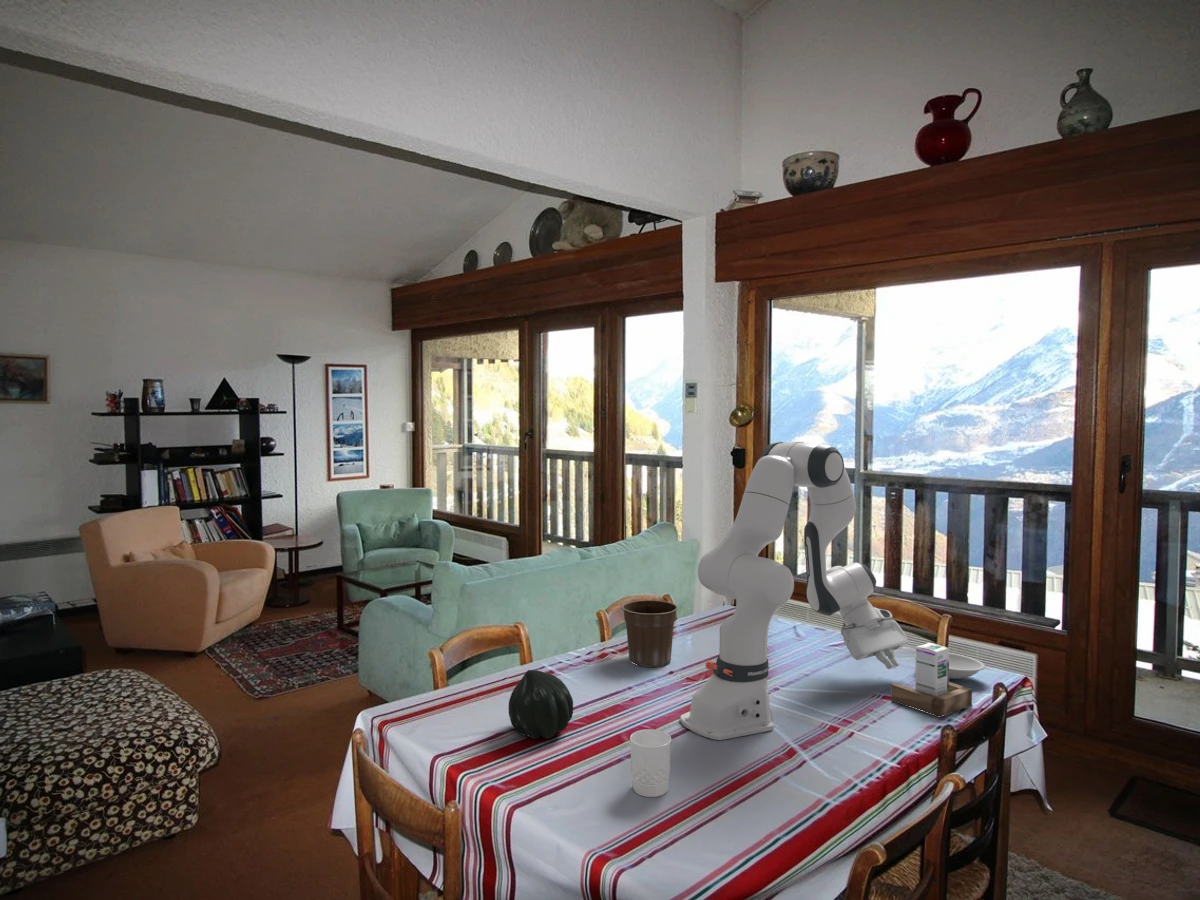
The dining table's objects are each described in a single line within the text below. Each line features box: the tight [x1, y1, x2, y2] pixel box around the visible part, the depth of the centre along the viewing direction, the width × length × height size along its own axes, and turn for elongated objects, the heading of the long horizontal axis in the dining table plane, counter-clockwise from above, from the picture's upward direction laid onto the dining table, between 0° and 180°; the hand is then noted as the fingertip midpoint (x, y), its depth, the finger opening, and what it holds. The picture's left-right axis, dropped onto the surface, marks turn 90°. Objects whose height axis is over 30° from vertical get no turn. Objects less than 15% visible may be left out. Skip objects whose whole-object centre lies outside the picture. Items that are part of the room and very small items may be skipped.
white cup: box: [629, 728, 672, 798], centre depth 143 cm, size 8×8×10 cm
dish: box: [914, 652, 986, 680], centre depth 204 cm, size 18×14×5 cm
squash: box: [508, 669, 574, 740], centre depth 169 cm, size 14×15×15 cm
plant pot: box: [621, 599, 679, 668], centre depth 217 cm, size 16×16×16 cm
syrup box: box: [914, 642, 950, 697], centre depth 186 cm, size 6×6×14 cm
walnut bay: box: [890, 681, 973, 717], centre depth 187 cm, size 14×13×4 cm
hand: (893, 667), depth 195 cm, fingers closed
